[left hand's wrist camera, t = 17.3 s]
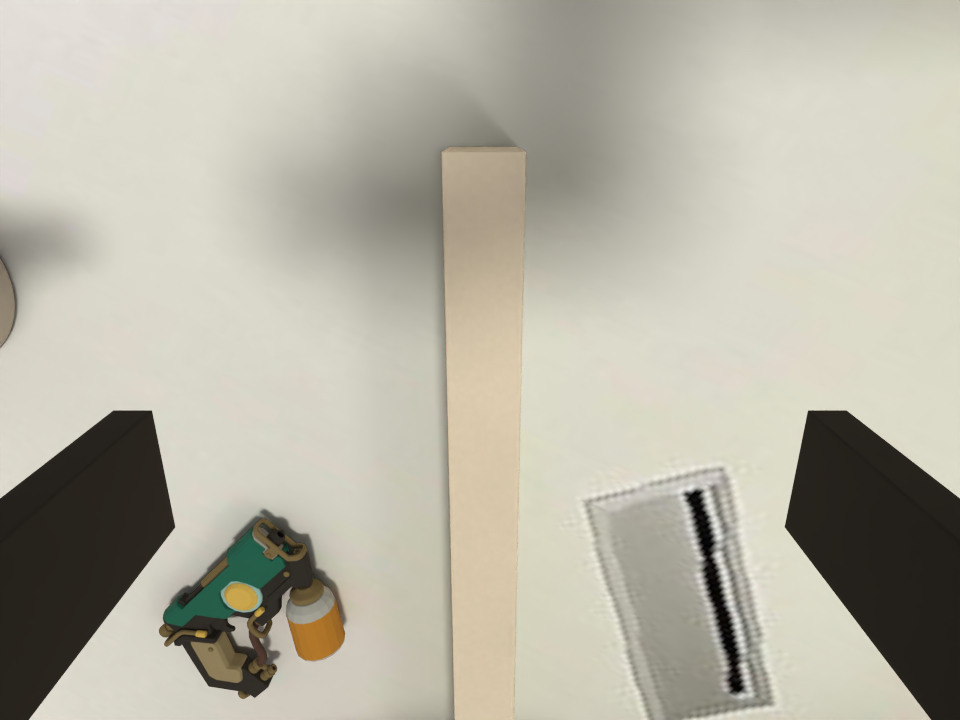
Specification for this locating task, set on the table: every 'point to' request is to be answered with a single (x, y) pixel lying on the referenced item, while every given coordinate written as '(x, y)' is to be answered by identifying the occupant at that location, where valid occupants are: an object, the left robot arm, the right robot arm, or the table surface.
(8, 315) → the bust sculpture
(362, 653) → the table surface
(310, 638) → the spray gun
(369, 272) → the table surface
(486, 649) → the post
